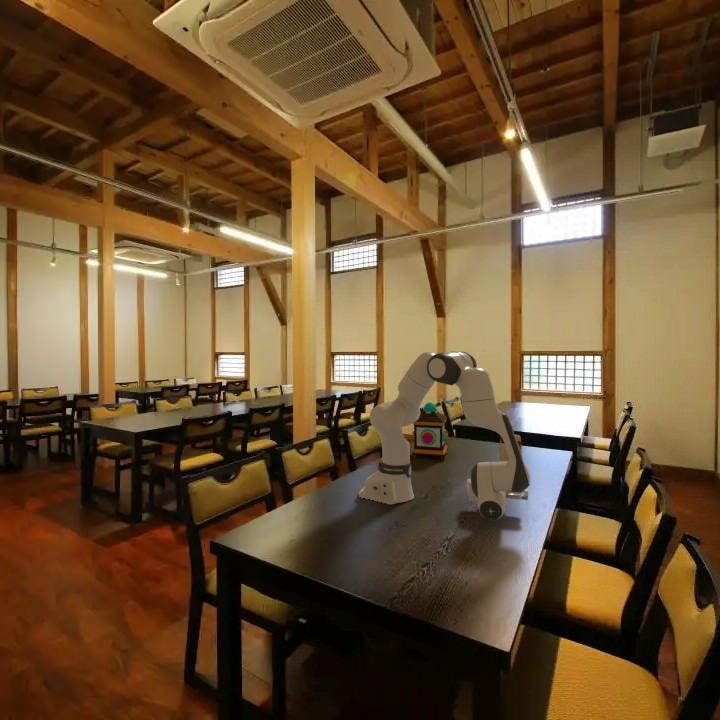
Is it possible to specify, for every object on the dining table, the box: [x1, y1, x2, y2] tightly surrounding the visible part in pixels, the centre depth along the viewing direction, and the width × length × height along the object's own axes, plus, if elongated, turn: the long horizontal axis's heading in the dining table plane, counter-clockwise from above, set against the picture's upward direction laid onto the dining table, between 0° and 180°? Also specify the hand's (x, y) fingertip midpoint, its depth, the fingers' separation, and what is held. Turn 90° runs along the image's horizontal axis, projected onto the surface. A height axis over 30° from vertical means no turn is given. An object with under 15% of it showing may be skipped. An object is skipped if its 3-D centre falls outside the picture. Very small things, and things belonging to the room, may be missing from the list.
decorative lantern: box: [411, 401, 449, 462], centre depth 224 cm, size 20×20×30 cm
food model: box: [498, 433, 523, 462], centre depth 188 cm, size 10×7×20 cm
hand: (495, 481), depth 158 cm, fingers closed on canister, 5 cm apart
